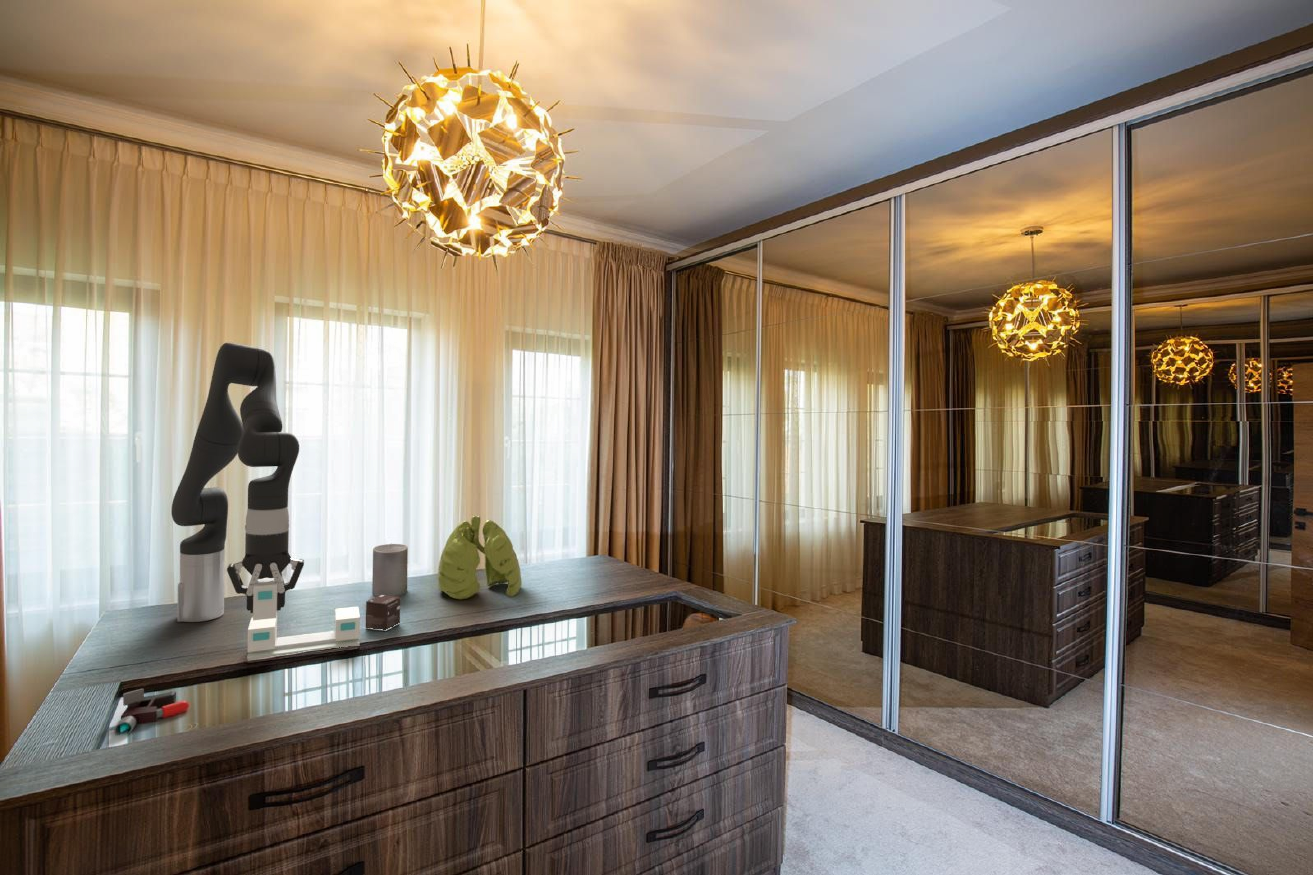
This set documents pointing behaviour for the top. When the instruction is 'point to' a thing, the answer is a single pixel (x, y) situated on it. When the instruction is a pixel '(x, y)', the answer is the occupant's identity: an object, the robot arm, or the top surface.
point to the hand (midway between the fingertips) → (265, 610)
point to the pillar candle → (390, 570)
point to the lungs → (477, 560)
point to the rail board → (303, 636)
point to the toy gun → (148, 709)
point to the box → (382, 612)
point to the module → (265, 599)
